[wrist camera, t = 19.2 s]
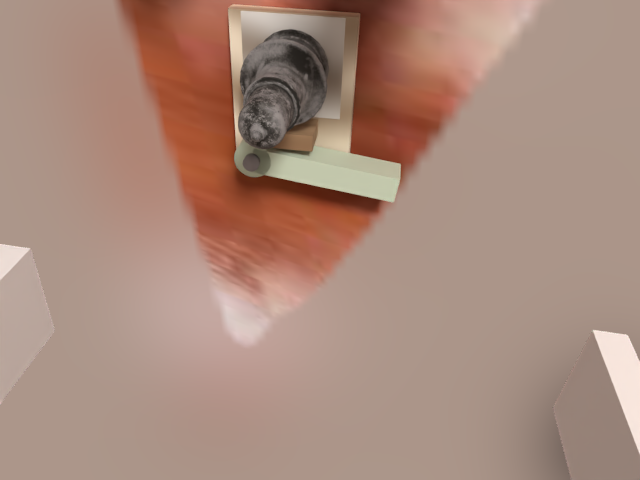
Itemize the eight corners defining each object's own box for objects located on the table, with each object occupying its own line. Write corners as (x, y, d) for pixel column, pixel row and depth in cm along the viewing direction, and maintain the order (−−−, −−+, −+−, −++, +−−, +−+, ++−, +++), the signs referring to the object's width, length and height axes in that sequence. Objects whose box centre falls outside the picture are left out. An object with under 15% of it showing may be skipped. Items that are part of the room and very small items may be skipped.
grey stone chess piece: (254, 104, 41) (207, 183, 32) (249, 22, 38) (195, 82, 28) (332, 109, 41) (308, 190, 31) (334, 26, 37) (309, 88, 28)
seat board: (232, 4, 39) (215, 19, 35) (360, 13, 38) (355, 29, 34) (240, 157, 46) (227, 182, 42) (348, 168, 45) (343, 194, 41)
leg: (241, 158, 44) (230, 176, 41) (243, 126, 42) (233, 143, 40) (393, 190, 44) (392, 211, 41) (401, 159, 42) (401, 178, 39)
